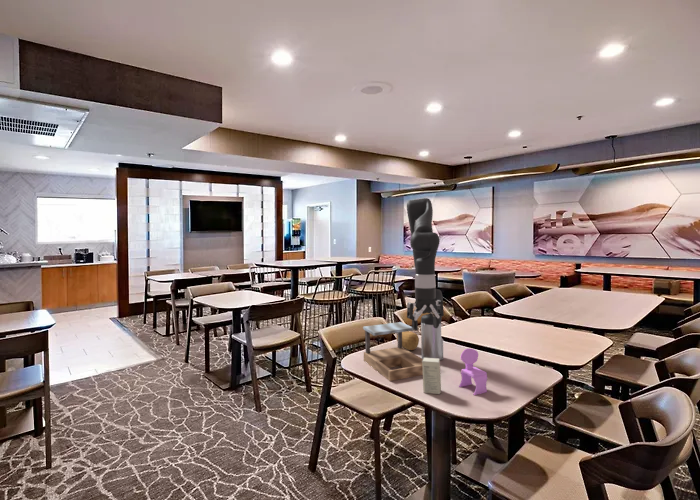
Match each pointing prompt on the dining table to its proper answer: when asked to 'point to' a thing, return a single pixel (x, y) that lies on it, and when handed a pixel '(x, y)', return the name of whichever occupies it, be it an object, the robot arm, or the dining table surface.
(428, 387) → the skincare box
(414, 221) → the robot arm
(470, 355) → the chair
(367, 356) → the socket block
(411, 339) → the potato
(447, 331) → the dining table surface
